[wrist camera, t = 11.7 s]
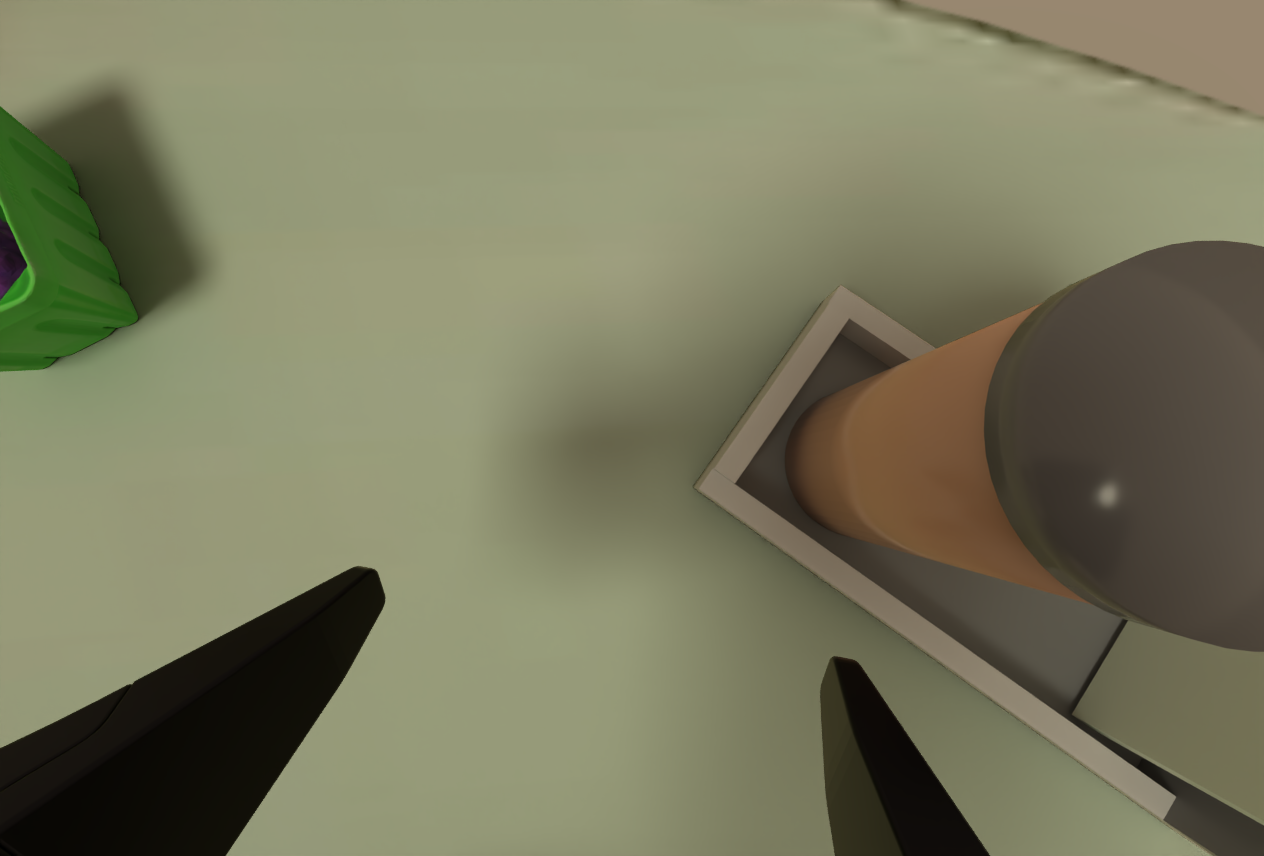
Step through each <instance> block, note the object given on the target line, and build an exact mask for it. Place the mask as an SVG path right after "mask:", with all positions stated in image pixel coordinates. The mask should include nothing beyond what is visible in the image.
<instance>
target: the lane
mask: <svg viewBox="0 0 1264 856" xmlns="http://www.w3.org/2000/svg"><path fill="white" fill-rule="evenodd" d="M935 349H936V348H935V347H933V346H932V345H930V344H929V343H927V342H926V341H924V340H923V339H921V338H920V337H918V336H917V335H915V334H914V333H912V332H911V331H909V330H908V329H906V328H905V327H903V326H902V325H900V324H899V323H897V322H896V321H894V320H893V319H891V318H890V317H888V316H887V315H885V314H884V313H882V312H881V311H879V310H878V309H876V308H875V307H873V306H872V305H870V304H869V303H867V302H866V301H864V300H863V299H861V298H860V297H858V296H857V295H855V294H854V293H852V292H851V291H849V290H848V289H846V288H845V287H843V286H842V285H840V286H839V287H838V288H837V289H836V290H834V291H833V292H832V293H831V294H830V295H829V296H828V297H827V298H826V299H825V300H824V301H822V303H821V304H820V305H819V307H818V308H817V310H816V311H815V313H814V314H813V315H812V317H811V318H810V320H809V321H808V323H807V324H806V325H805V327H804V328H803V330H802V331H801V333H800V334H799V335H798V337H797V338H796V340H795V341H794V343H793V344H792V345H791V347H790V348H789V350H788V351H787V353H786V354H785V355H784V357H783V358H782V360H781V361H780V363H779V364H778V366H777V367H776V368H775V370H774V371H773V373H772V374H771V376H770V377H769V378H768V380H767V381H766V383H765V384H764V386H763V387H762V388H761V390H760V391H759V393H758V394H757V396H756V397H755V398H754V400H753V401H752V403H751V404H750V406H749V407H748V408H747V410H746V411H745V413H744V414H743V416H742V417H741V418H740V420H739V421H738V423H737V424H736V426H735V427H734V429H733V430H732V431H731V433H730V434H729V436H728V437H727V439H726V440H725V441H724V443H723V444H722V446H721V447H720V449H719V450H718V451H717V453H716V454H715V456H714V457H713V459H712V460H711V461H710V463H709V464H708V466H707V467H706V469H705V470H704V471H703V473H702V474H701V476H700V477H699V479H698V480H697V482H696V483H695V484H694V486H693V488H694V489H696V490H697V491H699V492H700V493H701V494H703V495H704V496H706V497H707V498H708V499H710V500H711V501H713V502H714V503H715V504H717V505H718V506H720V507H721V508H722V509H724V510H725V511H727V512H728V513H729V514H731V515H732V516H734V517H735V518H736V519H738V520H739V521H741V522H742V523H743V524H745V525H746V526H748V527H749V528H750V529H752V530H753V531H755V532H756V533H757V534H759V535H760V536H762V537H763V538H764V539H766V540H767V541H769V542H770V543H771V544H773V545H774V546H776V547H777V548H778V549H780V550H781V551H783V552H784V553H785V554H787V555H788V556H790V557H791V558H792V559H794V560H795V561H797V562H798V563H799V564H801V565H802V566H804V567H805V568H806V569H808V570H809V571H811V572H812V573H813V574H815V575H816V576H818V577H819V578H820V579H822V580H823V581H825V582H826V583H827V584H829V585H830V586H832V587H833V588H834V589H836V590H837V591H839V592H840V593H841V594H843V595H844V596H846V597H847V598H848V599H850V600H851V601H853V602H854V603H855V604H857V605H858V606H860V607H861V608H862V609H864V610H865V611H867V612H868V613H869V614H871V615H872V616H874V617H875V618H876V619H878V620H879V621H881V622H882V623H883V624H885V625H886V626H888V627H889V628H891V629H892V630H893V631H895V632H896V633H898V634H899V635H900V636H902V637H903V638H905V639H906V640H907V641H909V642H910V643H912V644H913V645H914V646H916V647H917V648H919V649H920V650H921V651H923V652H924V653H926V654H927V655H928V656H930V657H931V658H933V659H934V660H935V661H937V662H938V663H940V664H941V665H942V666H944V667H945V668H947V669H948V670H949V671H951V672H952V673H954V674H955V675H956V676H958V677H959V678H961V679H962V680H963V681H965V682H966V683H968V684H969V685H970V686H972V687H973V688H975V689H976V690H977V691H979V692H980V693H982V694H983V695H984V696H986V697H987V698H989V699H990V700H991V701H993V702H994V703H996V704H997V705H998V706H1000V707H1001V708H1003V709H1004V710H1005V711H1007V712H1008V713H1010V714H1011V715H1012V716H1014V717H1015V718H1017V719H1018V720H1019V721H1021V722H1022V723H1024V724H1025V725H1026V726H1028V727H1029V728H1031V729H1032V730H1033V731H1035V732H1036V733H1038V734H1039V735H1040V736H1042V737H1043V738H1045V739H1046V740H1047V741H1049V742H1050V743H1052V744H1053V745H1054V746H1056V747H1057V748H1059V749H1060V750H1061V751H1063V752H1064V753H1066V754H1067V755H1068V756H1070V757H1071V758H1073V759H1074V760H1075V761H1077V762H1078V763H1080V764H1081V765H1082V766H1084V767H1085V768H1087V769H1088V770H1089V771H1091V772H1092V773H1094V774H1095V775H1096V776H1098V777H1099V778H1101V779H1102V780H1104V781H1105V782H1106V783H1108V784H1109V785H1111V786H1112V787H1113V788H1115V789H1116V790H1118V791H1119V792H1120V793H1122V794H1123V795H1125V796H1126V797H1127V798H1129V799H1130V800H1132V801H1133V802H1134V803H1136V804H1137V805H1139V806H1140V807H1141V808H1143V809H1144V810H1146V811H1147V812H1148V813H1150V814H1151V815H1153V816H1154V817H1155V818H1157V819H1158V820H1160V821H1161V822H1162V823H1164V824H1165V825H1167V826H1168V827H1169V828H1171V829H1172V830H1174V831H1175V832H1177V833H1178V834H1180V835H1181V836H1183V837H1184V838H1186V839H1187V840H1189V841H1190V842H1192V843H1193V844H1195V845H1196V846H1198V847H1199V848H1201V849H1202V850H1204V851H1205V852H1207V853H1208V854H1210V855H1211V856H1264V825H1262V824H1260V823H1259V822H1257V821H1255V820H1253V819H1251V818H1250V817H1248V816H1246V815H1244V814H1243V813H1241V812H1239V811H1237V810H1235V809H1234V808H1232V807H1230V806H1228V805H1227V804H1225V803H1223V802H1221V801H1219V800H1218V799H1216V798H1214V797H1212V796H1211V795H1209V794H1207V793H1205V792H1203V791H1202V790H1200V789H1198V788H1196V787H1194V786H1193V785H1191V784H1189V783H1187V782H1186V781H1184V780H1182V779H1180V778H1178V777H1177V776H1175V775H1173V774H1171V773H1170V772H1168V771H1166V770H1164V769H1162V768H1161V767H1159V766H1157V765H1155V764H1153V763H1152V762H1150V761H1148V760H1146V759H1145V758H1143V757H1141V756H1139V755H1137V754H1136V753H1134V752H1132V751H1130V750H1129V749H1127V748H1125V747H1123V746H1121V745H1120V744H1118V743H1116V742H1114V741H1112V740H1111V739H1109V738H1107V737H1105V736H1104V735H1102V734H1100V733H1098V732H1096V731H1095V730H1093V729H1092V728H1090V727H1089V726H1087V725H1086V724H1084V723H1083V722H1082V721H1080V720H1079V719H1077V718H1076V717H1075V716H1073V715H1072V713H1073V711H1074V710H1075V708H1076V706H1077V705H1078V703H1079V701H1080V700H1081V698H1082V696H1083V695H1084V693H1085V691H1086V690H1087V688H1088V686H1089V685H1090V683H1091V682H1092V680H1093V678H1094V677H1095V675H1096V673H1097V672H1098V670H1099V668H1100V667H1101V665H1102V663H1103V662H1104V660H1105V658H1106V657H1107V655H1108V653H1109V652H1110V650H1111V648H1112V647H1113V645H1114V643H1115V642H1116V640H1117V638H1118V637H1119V635H1120V633H1121V632H1122V630H1123V628H1124V627H1125V625H1126V623H1127V622H1128V620H1126V619H1123V618H1121V617H1118V616H1116V615H1113V614H1111V613H1108V612H1106V611H1104V610H1102V609H1100V608H1098V607H1096V606H1095V605H1091V604H1088V603H1084V602H1081V601H1077V600H1074V599H1070V598H1066V597H1063V596H1059V595H1056V594H1052V593H1048V592H1045V591H1041V590H1038V589H1034V588H1030V587H1027V586H1023V585H1020V584H1016V583H1012V582H1009V581H1005V580H1002V579H998V578H995V577H991V576H987V575H984V574H980V573H977V572H973V571H969V570H966V569H962V568H959V567H955V566H951V565H948V564H944V563H941V562H937V561H933V560H930V559H926V558H923V557H919V556H916V555H912V554H908V553H905V552H901V551H898V550H894V549H890V548H887V547H883V546H880V545H876V544H872V543H869V542H865V541H862V540H858V539H854V538H851V537H847V536H844V535H840V534H837V533H835V532H832V531H830V530H828V529H826V528H824V527H823V526H821V525H819V524H818V523H817V522H815V521H814V520H813V519H812V518H811V517H810V516H808V515H807V514H806V513H805V511H804V510H803V509H802V508H801V507H800V505H799V504H798V502H797V501H796V499H795V497H794V496H793V493H792V491H791V489H790V487H789V483H788V480H787V476H786V470H785V450H786V445H787V441H788V438H789V435H790V432H791V430H792V428H793V426H794V424H795V423H796V421H797V420H798V418H799V417H800V416H801V415H802V413H803V412H804V411H805V410H806V409H807V408H809V407H810V406H811V405H812V404H814V403H815V402H817V401H818V400H820V399H822V398H823V397H826V396H828V395H830V394H833V393H835V392H837V391H840V390H842V389H844V388H847V387H849V386H851V385H854V384H856V383H858V382H860V381H863V380H865V379H867V378H870V377H872V376H874V375H877V374H879V373H881V372H884V371H886V370H888V369H891V368H893V367H895V366H898V365H900V364H902V363H904V362H907V361H909V360H911V359H914V358H916V357H918V356H921V355H923V354H925V353H928V352H930V351H932V350H935Z"/></svg>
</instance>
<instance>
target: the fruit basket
mask: <svg viewBox="0 0 1264 856" xmlns="http://www.w3.org/2000/svg"><path fill="white" fill-rule="evenodd" d="M119 284H120V281H119V273H118V271H117V269H116V266H115V264H114V262H113V260H112V258H111V255H110V253H109V251H108V249H107V248H106V247H105V246H104V245H103V243H102V242H101V241H100V240H99V230H98V227H97V225H96V223H95V221H94V218H93V216H92V214H91V212H90V209H89V207H88V206H87V204H86V202H85V201H84V200H83V199H82V198H81V197H80V196H79V186H78V183H77V181H76V179H75V176H74V174H73V172H72V170H71V167H70V165H69V164H68V163H67V161H65V160H64V159H63V158H62V157H61V156H59V155H58V154H57V153H56V152H55V151H53V150H52V149H51V148H50V147H49V146H47V145H46V144H45V143H44V142H43V141H41V140H40V139H39V138H38V137H37V136H35V135H34V134H33V133H32V132H30V131H29V130H28V129H27V128H26V127H24V126H23V125H22V124H21V123H20V122H18V121H17V120H16V119H15V118H14V117H12V116H11V115H10V114H9V113H8V112H6V111H5V110H4V109H3V108H2V107H0V371H22V370H40V369H44V368H46V367H48V366H50V365H51V364H52V363H53V362H54V361H55V360H56V359H57V358H58V357H62V356H67V355H72V354H74V353H76V352H78V351H80V350H81V349H83V348H85V347H87V346H89V345H91V344H93V343H95V342H97V341H99V340H101V339H103V338H105V337H107V336H108V335H109V334H110V333H111V332H112V331H114V330H115V327H116V328H119V327H123V326H129V325H131V324H133V323H135V322H136V321H137V320H138V315H137V312H136V310H135V308H134V306H133V304H132V302H131V300H130V297H129V295H128V293H127V292H126V291H125V290H124V289H123V288H122V287H121V286H120V285H119Z"/></svg>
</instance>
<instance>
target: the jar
mask: <svg viewBox="0 0 1264 856" xmlns="http://www.w3.org/2000/svg"><path fill="white" fill-rule="evenodd" d="M785 470H786V476H787V480H788V483H789V487H790V489H791V491H792V493H793V496H794V497H795V499H796V501H797V502H798V504H799V505H800V507H801V508H802V509H803V510H804V511H805V513H806V514H807V515H808V516H810V517H811V518H812V519H813V520H814V521H815V522H817V523H818V524H819V525H821V526H823V527H824V528H826V529H828V530H830V531H832V532H835V533H837V534H840V535H844V536H847V537H851V538H854V539H858V540H862V541H865V542H869V543H872V544H876V545H880V546H883V547H887V548H890V549H894V550H898V551H901V552H905V553H908V554H912V555H916V556H919V557H923V558H926V559H930V560H933V561H937V562H941V563H944V564H948V565H951V566H955V567H959V568H962V569H966V570H969V571H973V572H977V573H980V574H984V575H987V576H991V577H995V578H998V579H1002V580H1005V581H1009V582H1012V583H1016V584H1020V585H1023V586H1027V587H1030V588H1034V589H1038V590H1041V591H1045V592H1048V593H1052V594H1056V595H1059V596H1063V597H1066V598H1070V599H1074V600H1077V601H1081V602H1084V603H1088V604H1091V605H1095V606H1096V607H1098V608H1100V609H1102V610H1104V611H1106V612H1108V613H1111V614H1113V615H1116V616H1118V617H1121V618H1123V619H1126V620H1128V621H1131V622H1134V623H1138V624H1141V625H1145V626H1148V627H1152V628H1155V629H1159V630H1162V631H1165V632H1169V633H1172V634H1176V635H1179V636H1183V637H1186V638H1189V639H1193V640H1196V641H1200V642H1204V643H1208V644H1212V645H1215V646H1219V647H1223V648H1228V649H1236V650H1244V651H1251V652H1264V247H1261V246H1257V245H1253V244H1248V243H1238V242H1229V241H1194V242H1187V243H1179V244H1172V245H1168V246H1164V247H1161V248H1157V249H1154V250H1150V251H1146V252H1144V253H1142V254H1139V255H1137V256H1135V257H1132V258H1130V259H1128V260H1125V261H1123V262H1121V263H1118V264H1116V265H1114V266H1112V267H1109V268H1107V269H1105V270H1103V271H1101V272H1098V273H1096V274H1094V275H1092V276H1089V277H1087V278H1085V279H1083V280H1080V281H1078V282H1076V283H1074V284H1071V285H1069V286H1068V287H1066V288H1064V289H1063V290H1061V291H1059V292H1057V293H1056V294H1054V295H1052V296H1051V297H1049V298H1048V299H1047V300H1046V301H1045V302H1043V303H1041V304H1039V305H1036V306H1034V307H1032V308H1029V309H1027V310H1025V311H1022V312H1020V313H1018V314H1015V315H1013V316H1011V317H1009V318H1006V319H1004V320H1002V321H999V322H997V323H995V324H992V325H990V326H988V327H985V328H983V329H981V330H978V331H976V332H974V333H972V334H969V335H967V336H965V337H962V338H960V339H958V340H955V341H953V342H951V343H948V344H946V345H944V346H941V347H939V348H937V349H935V350H932V351H930V352H928V353H925V354H923V355H921V356H918V357H916V358H914V359H911V360H909V361H907V362H904V363H902V364H900V365H898V366H895V367H893V368H891V369H888V370H886V371H884V372H881V373H879V374H877V375H874V376H872V377H870V378H867V379H865V380H863V381H860V382H858V383H856V384H854V385H851V386H849V387H847V388H844V389H842V390H840V391H837V392H835V393H833V394H830V395H828V396H826V397H823V398H822V399H820V400H818V401H817V402H815V403H814V404H812V405H811V406H810V407H809V408H807V409H806V410H805V411H804V412H803V413H802V415H801V416H800V417H799V418H798V420H797V421H796V423H795V424H794V426H793V428H792V430H791V432H790V435H789V438H788V441H787V445H786V450H785Z"/></svg>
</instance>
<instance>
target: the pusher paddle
mask: <svg viewBox="0 0 1264 856" xmlns="http://www.w3.org/2000/svg"><path fill="white" fill-rule="evenodd" d="M1072 715H1073V716H1075V717H1076V718H1077V719H1079V720H1080V721H1082V722H1083V723H1084V724H1086V725H1087V726H1089V727H1090V728H1092V729H1093V730H1095V731H1096V732H1098V733H1100V734H1102V735H1104V736H1105V737H1107V738H1109V739H1111V740H1112V741H1114V742H1116V743H1118V744H1120V745H1121V746H1123V747H1125V748H1127V749H1129V750H1130V751H1132V752H1134V753H1136V754H1137V755H1139V756H1141V757H1143V758H1145V759H1146V760H1148V761H1150V762H1152V763H1153V764H1155V765H1157V766H1159V767H1161V768H1162V769H1164V770H1166V771H1168V772H1170V773H1171V774H1173V775H1175V776H1177V777H1178V778H1180V779H1182V780H1184V781H1186V782H1187V783H1189V784H1191V785H1193V786H1194V787H1196V788H1198V789H1200V790H1202V791H1203V792H1205V793H1207V794H1209V795H1211V796H1212V797H1214V798H1216V799H1218V800H1219V801H1221V802H1223V803H1225V804H1227V805H1228V806H1230V807H1232V808H1234V809H1235V810H1237V811H1239V812H1241V813H1243V814H1244V815H1246V816H1248V817H1250V818H1251V819H1253V820H1255V821H1257V822H1259V823H1260V824H1262V825H1264V652H1251V651H1244V650H1236V649H1228V648H1223V647H1219V646H1215V645H1212V644H1208V643H1204V642H1200V641H1196V640H1193V639H1189V638H1186V637H1183V636H1179V635H1176V634H1172V633H1169V632H1165V631H1162V630H1159V629H1155V628H1152V627H1148V626H1145V625H1141V624H1138V623H1134V622H1131V621H1128V622H1127V623H1126V625H1125V627H1124V628H1123V630H1122V632H1121V633H1120V635H1119V637H1118V638H1117V640H1116V642H1115V643H1114V645H1113V647H1112V648H1111V650H1110V652H1109V653H1108V655H1107V657H1106V658H1105V660H1104V662H1103V663H1102V665H1101V667H1100V668H1099V670H1098V672H1097V673H1096V675H1095V677H1094V678H1093V680H1092V682H1091V683H1090V685H1089V686H1088V688H1087V690H1086V691H1085V693H1084V695H1083V696H1082V698H1081V700H1080V701H1079V703H1078V705H1077V706H1076V708H1075V710H1074V711H1073V713H1072Z"/></svg>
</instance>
